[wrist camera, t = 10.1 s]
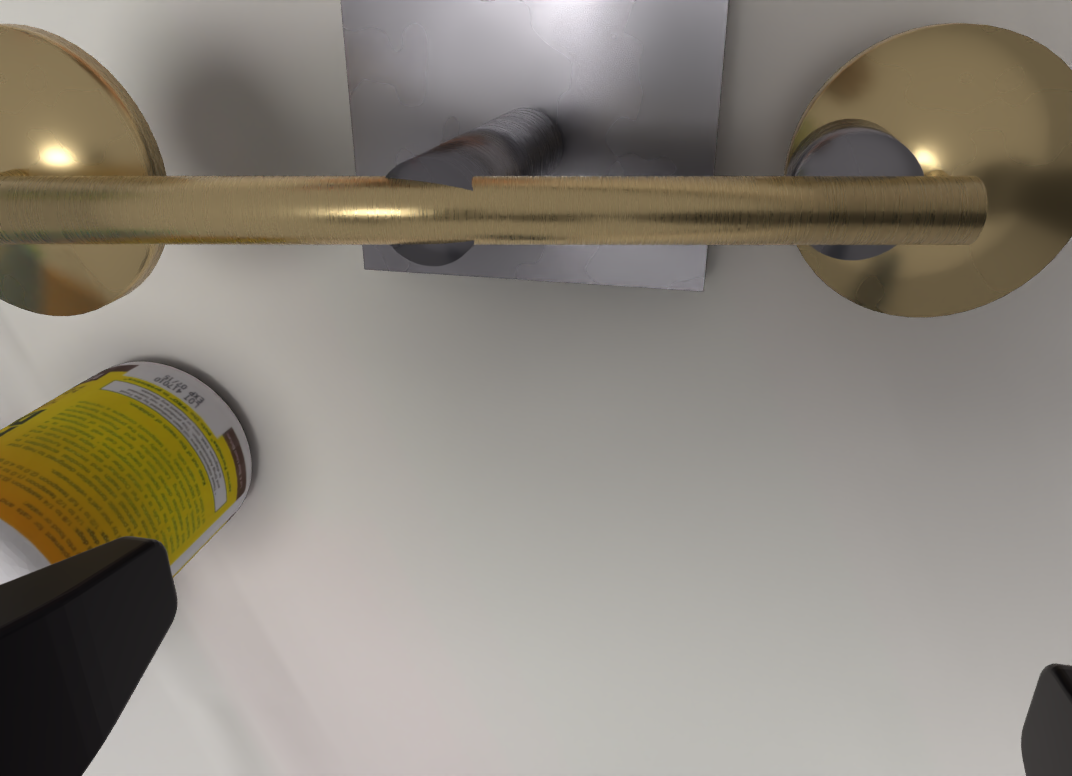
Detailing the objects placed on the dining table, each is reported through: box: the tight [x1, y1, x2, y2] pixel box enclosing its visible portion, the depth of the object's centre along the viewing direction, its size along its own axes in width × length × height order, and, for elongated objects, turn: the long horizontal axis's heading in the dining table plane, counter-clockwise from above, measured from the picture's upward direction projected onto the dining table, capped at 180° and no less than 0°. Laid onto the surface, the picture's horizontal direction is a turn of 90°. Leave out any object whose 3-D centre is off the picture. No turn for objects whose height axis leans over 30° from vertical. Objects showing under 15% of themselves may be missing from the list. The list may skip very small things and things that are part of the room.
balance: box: [0, 0, 1072, 317], centre depth 15 cm, size 21×6×10 cm, turn 90°
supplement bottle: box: [0, 362, 252, 585], centre depth 20 cm, size 6×6×10 cm
